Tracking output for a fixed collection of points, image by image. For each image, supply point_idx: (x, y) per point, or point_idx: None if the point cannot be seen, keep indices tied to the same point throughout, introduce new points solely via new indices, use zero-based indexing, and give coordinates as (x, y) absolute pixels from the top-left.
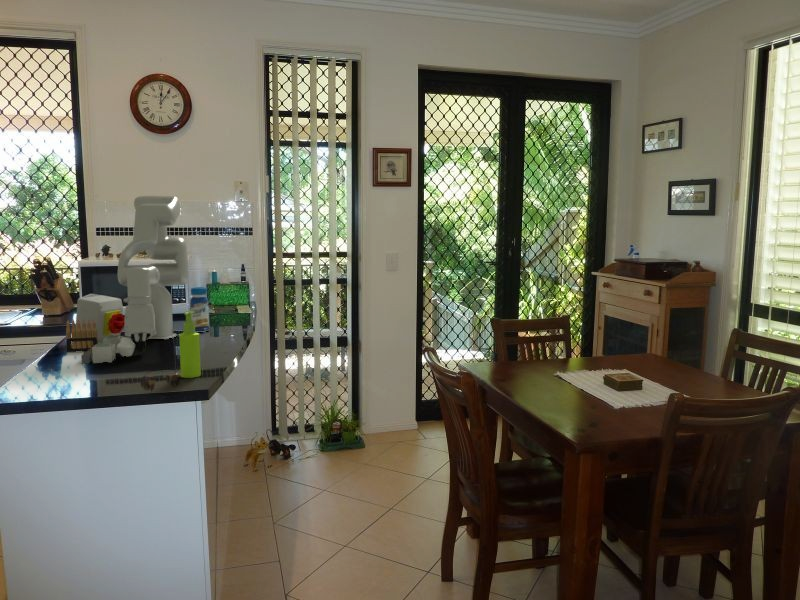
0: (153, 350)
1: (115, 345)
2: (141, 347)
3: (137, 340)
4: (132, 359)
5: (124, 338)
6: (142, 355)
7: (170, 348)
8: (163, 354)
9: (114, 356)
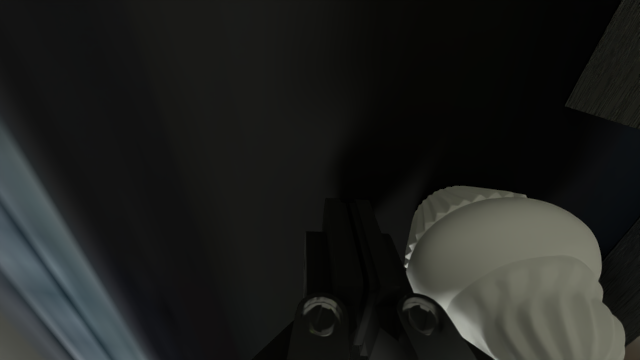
0: (271, 326)
1: None
2: (347, 228)
3: (413, 306)
4: (430, 15)
5: (606, 347)
6: (332, 196)
7: (177, 352)
8: (157, 189)
9: (621, 67)
